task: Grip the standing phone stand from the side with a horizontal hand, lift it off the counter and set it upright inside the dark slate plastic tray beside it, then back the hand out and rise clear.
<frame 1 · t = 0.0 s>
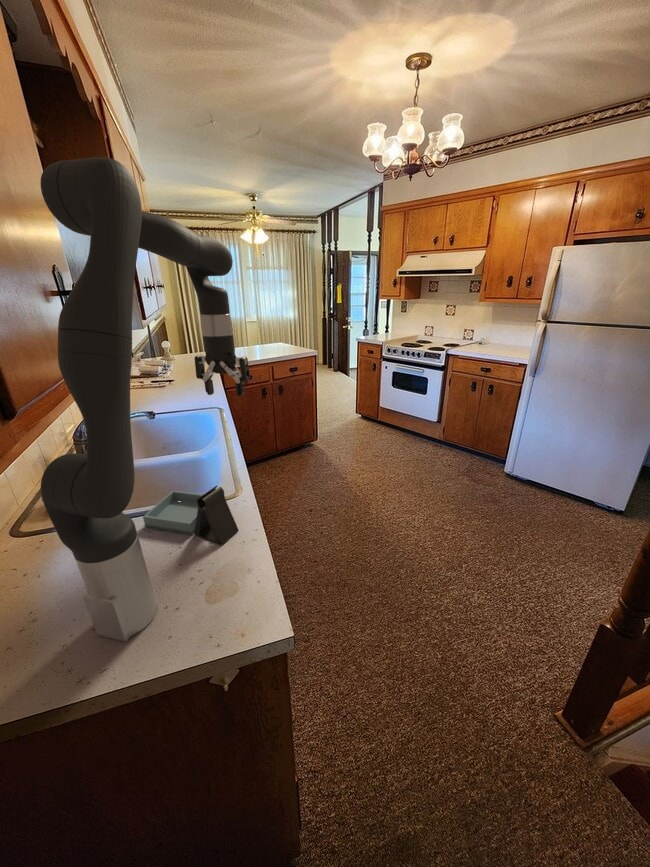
hand: (225, 395, 94), 29 cm above the worktop, tool pointing down, fingers open, 8 cm apart
slate tray: (183, 516, 93), on the worktop
phone stand: (216, 533, 87), on the worktop
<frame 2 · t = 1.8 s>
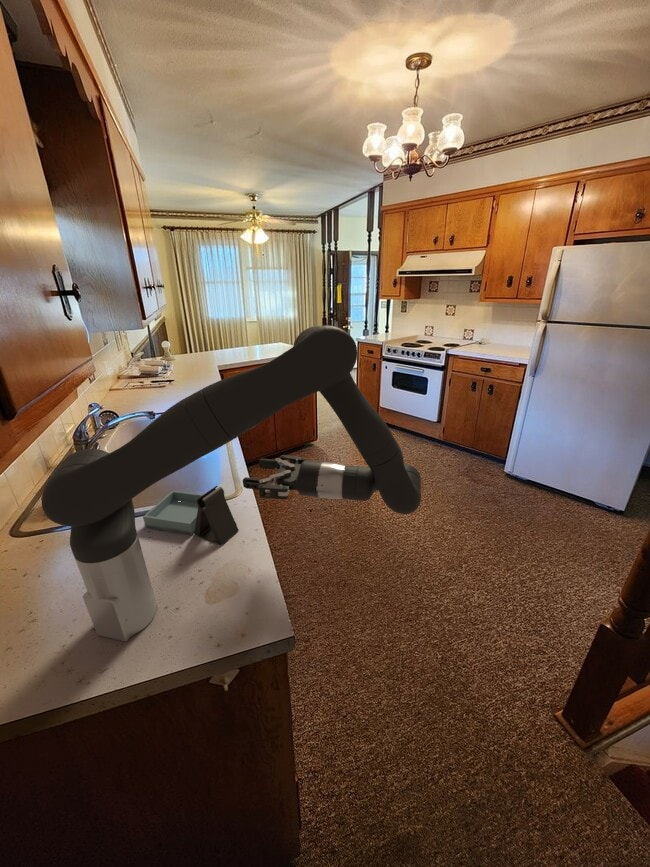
hand: (251, 472, 77), 19 cm above the worktop, tool horizontal, fingers open, 8 cm apart
nothing on the worktop moved.
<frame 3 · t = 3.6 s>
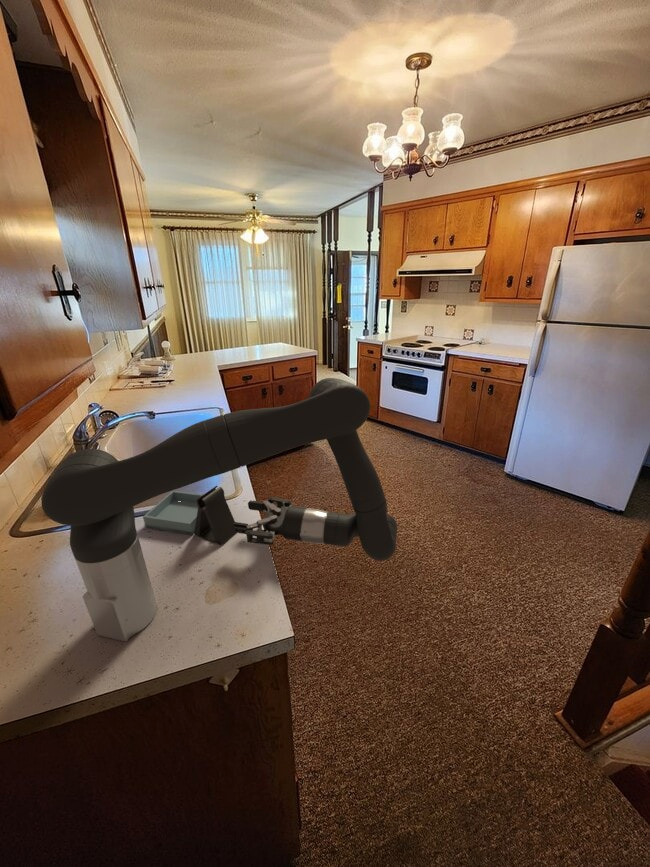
hand: (241, 515, 83), 7 cm above the worktop, tool horizontal, fingers open, 8 cm apart
nothing on the worktop moved.
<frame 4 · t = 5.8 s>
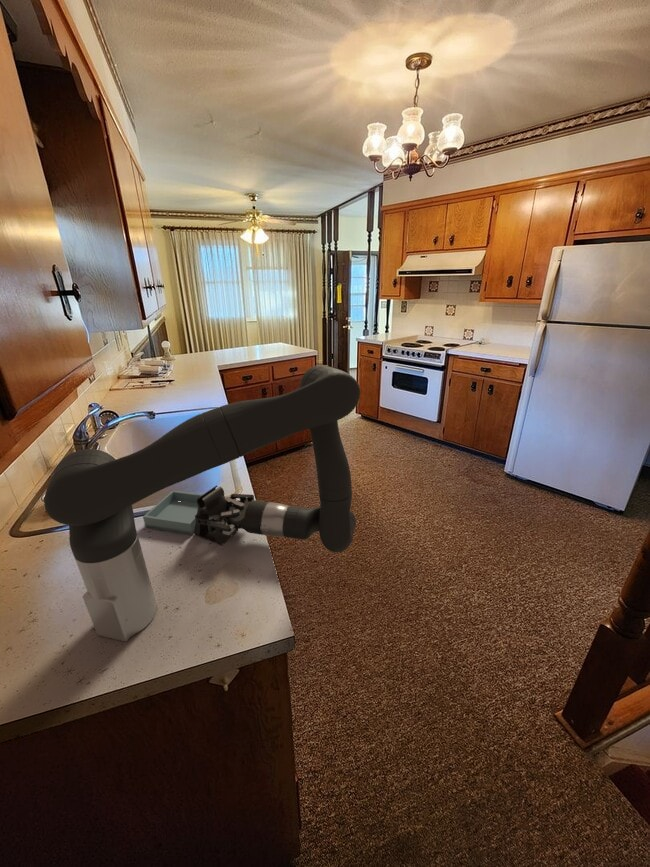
hand: (204, 509, 85), 7 cm above the worktop, tool horizontal, fingers closed on phone stand, 6 cm apart
phone stand: (216, 533, 87), on the worktop, touching gripper
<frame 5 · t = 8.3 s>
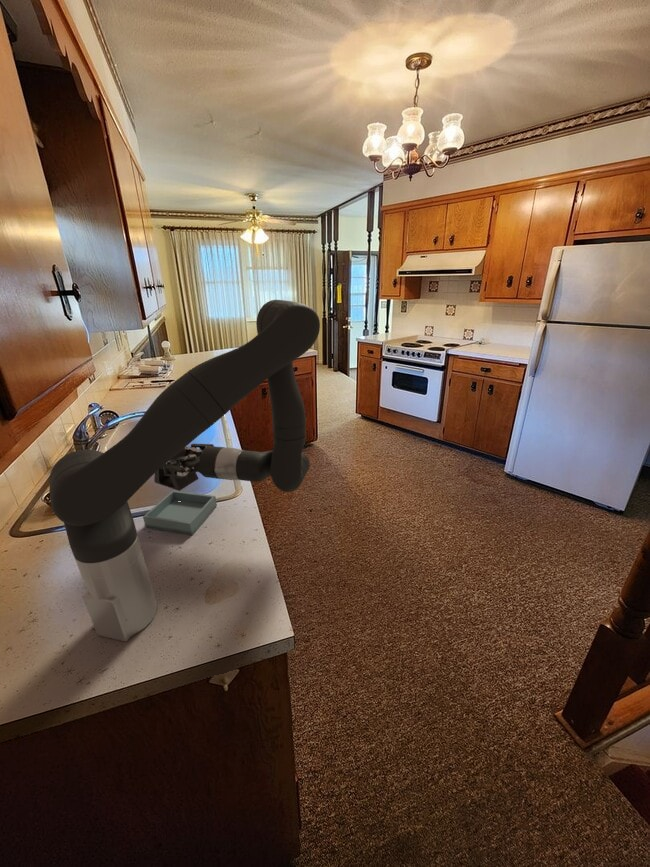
hand: (163, 456, 86), 18 cm above the worktop, tool horizontal, fingers closed on phone stand, 6 cm apart
phone stand: (176, 481, 88), point 11 cm above the worktop, touching gripper
when the fingers open (9 cm above the worktop, at t = 10.9 s): phone stand moves 2 cm, resting on slate tray.
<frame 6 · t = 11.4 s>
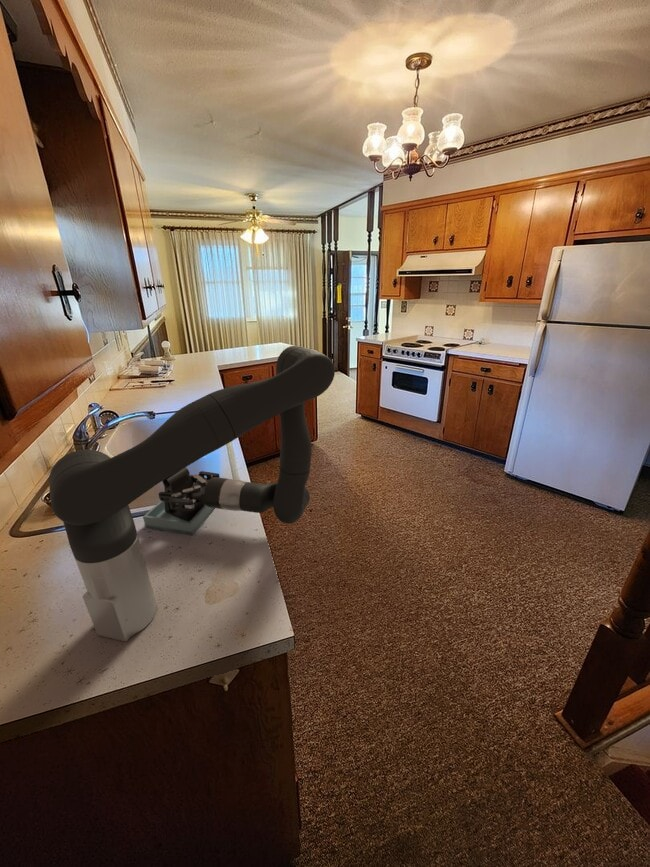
hand: (170, 486, 90), 9 cm above the worktop, tool horizontal, fingers open, 8 cm apart
phone stand: (186, 510, 94), point 1 cm above the worktop, touching gripper, slate tray
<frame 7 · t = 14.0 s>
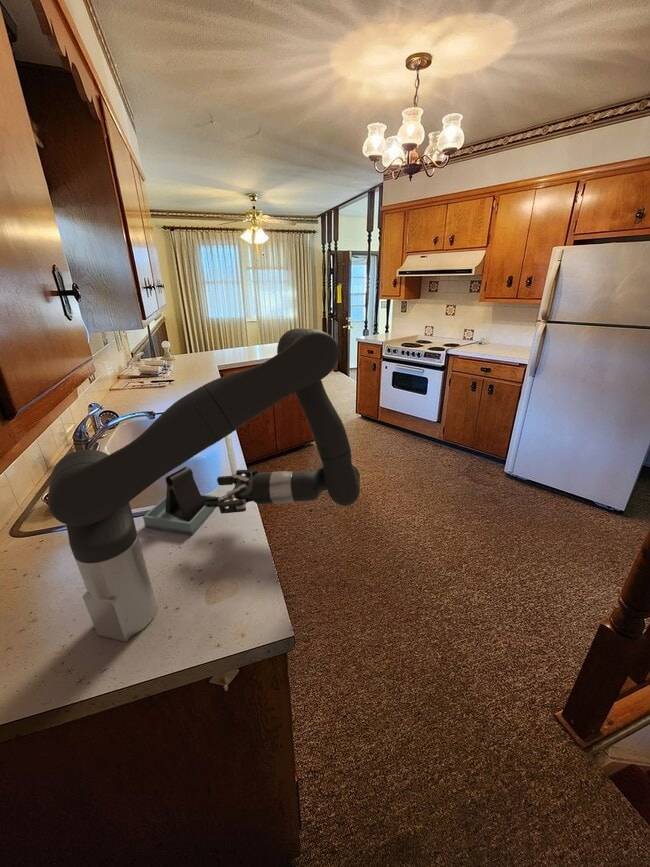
hand: (211, 491, 85), 10 cm above the worktop, tool horizontal, fingers open, 8 cm apart
phone stand: (186, 511, 94), point 1 cm above the worktop, touching slate tray
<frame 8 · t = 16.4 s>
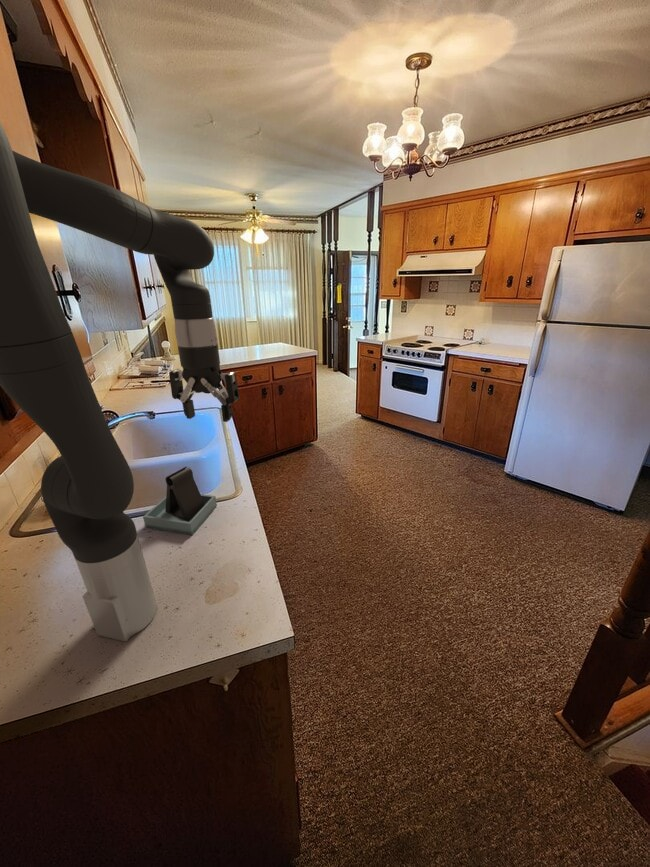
hand: (209, 419, 75), 30 cm above the worktop, tool pointing down, fingers open, 8 cm apart
nothing on the worktop moved.
at the end: phone stand 1.4 cm off-centre on the slate tray, point 0.8 cm above the slate tray's base; phone stand tilted 0°; the gripper is holding nothing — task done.
